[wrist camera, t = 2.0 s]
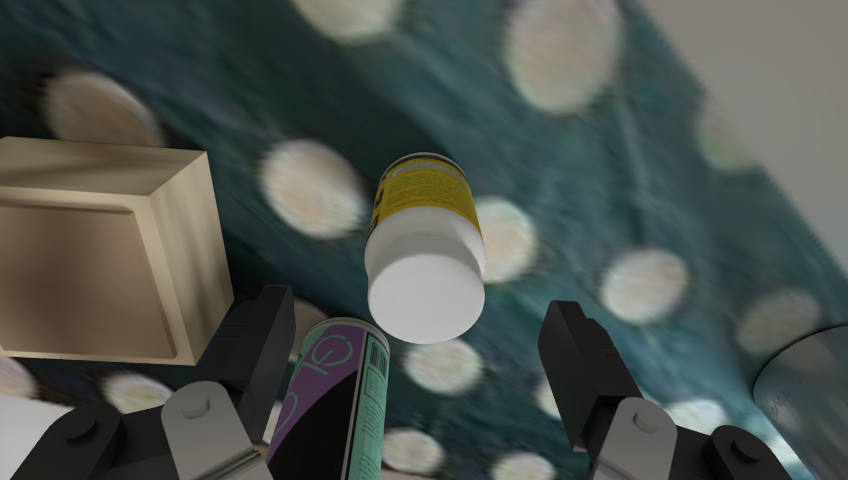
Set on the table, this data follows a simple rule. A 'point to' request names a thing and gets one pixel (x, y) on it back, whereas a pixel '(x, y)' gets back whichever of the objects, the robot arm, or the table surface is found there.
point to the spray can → (333, 405)
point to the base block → (109, 252)
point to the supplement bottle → (425, 251)
